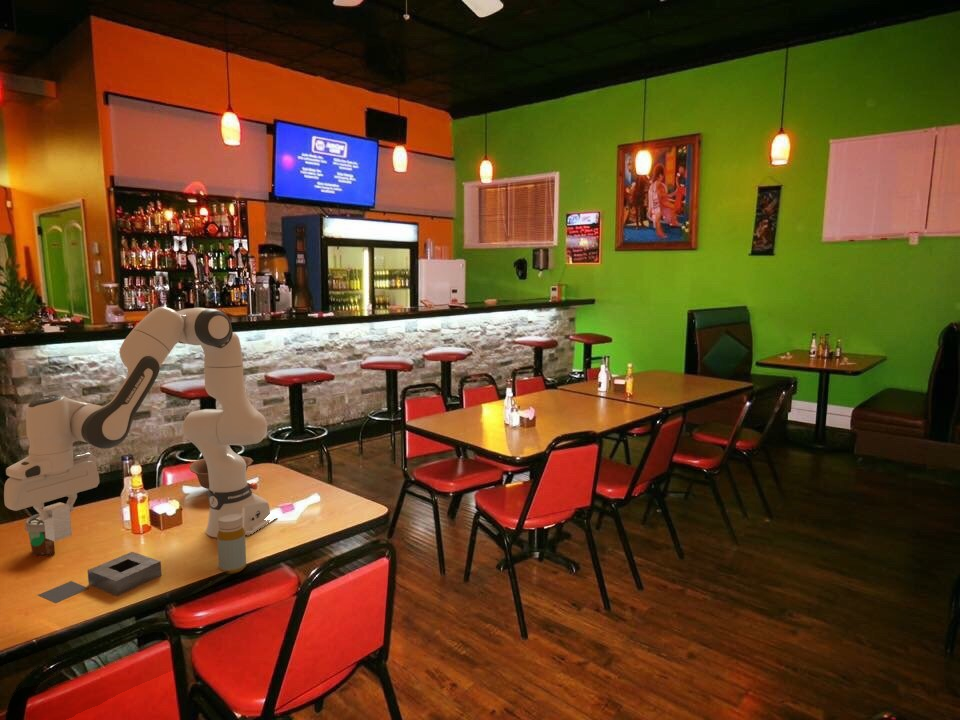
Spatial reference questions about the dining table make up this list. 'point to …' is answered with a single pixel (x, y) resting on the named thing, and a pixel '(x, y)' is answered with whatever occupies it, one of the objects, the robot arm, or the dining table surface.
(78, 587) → the rubber pad
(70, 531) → the steel plug
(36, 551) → the food container
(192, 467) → the bowl
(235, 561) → the bottle
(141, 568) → the socket block
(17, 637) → the dining table surface
